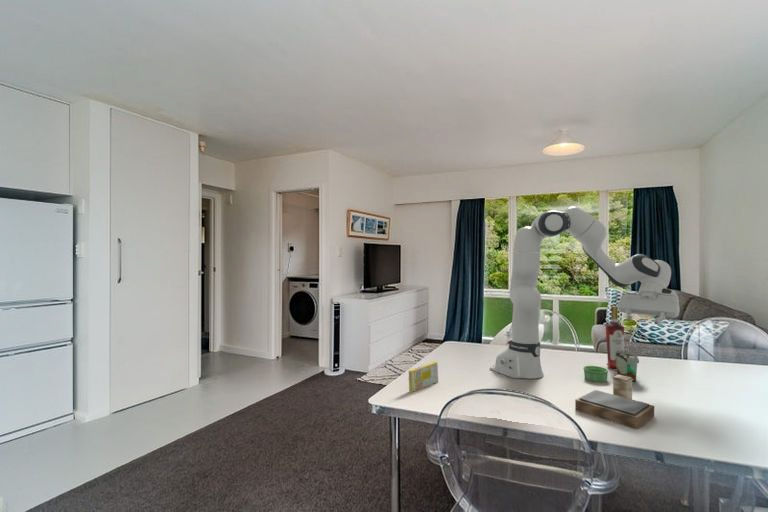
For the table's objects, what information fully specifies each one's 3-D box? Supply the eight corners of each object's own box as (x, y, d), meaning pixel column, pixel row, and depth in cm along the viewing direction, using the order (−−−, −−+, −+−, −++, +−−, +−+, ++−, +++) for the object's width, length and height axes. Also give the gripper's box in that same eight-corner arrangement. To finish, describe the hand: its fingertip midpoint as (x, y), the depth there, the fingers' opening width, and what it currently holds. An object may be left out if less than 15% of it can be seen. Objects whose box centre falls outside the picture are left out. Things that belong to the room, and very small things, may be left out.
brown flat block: (575, 410, 125) (575, 398, 125) (594, 400, 134) (594, 388, 134) (637, 429, 111) (637, 415, 111) (654, 416, 119) (654, 404, 119)
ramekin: (578, 377, 158) (578, 367, 158) (593, 374, 162) (593, 364, 162) (598, 384, 150) (597, 373, 150) (613, 381, 154) (613, 370, 154)
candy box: (434, 381, 156) (434, 361, 156) (438, 382, 155) (438, 362, 155) (408, 391, 145) (408, 370, 145) (412, 393, 143) (412, 371, 143)
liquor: (620, 366, 173) (619, 305, 173) (628, 371, 166) (627, 307, 166) (603, 365, 174) (602, 305, 175) (610, 370, 167) (609, 307, 167)
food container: (645, 385, 148) (645, 359, 148) (627, 384, 150) (627, 358, 150) (631, 375, 160) (631, 351, 160) (615, 374, 162) (615, 351, 162)
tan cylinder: (613, 399, 134) (613, 376, 134) (618, 396, 137) (618, 374, 137) (627, 403, 131) (626, 380, 131) (632, 400, 133) (631, 377, 133)
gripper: (620, 287, 158) (610, 313, 152) (680, 291, 142) (672, 320, 136) (624, 297, 161) (615, 323, 155) (684, 301, 145) (676, 330, 139)
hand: (642, 321), depth 145 cm, fingers open, 8 cm apart
